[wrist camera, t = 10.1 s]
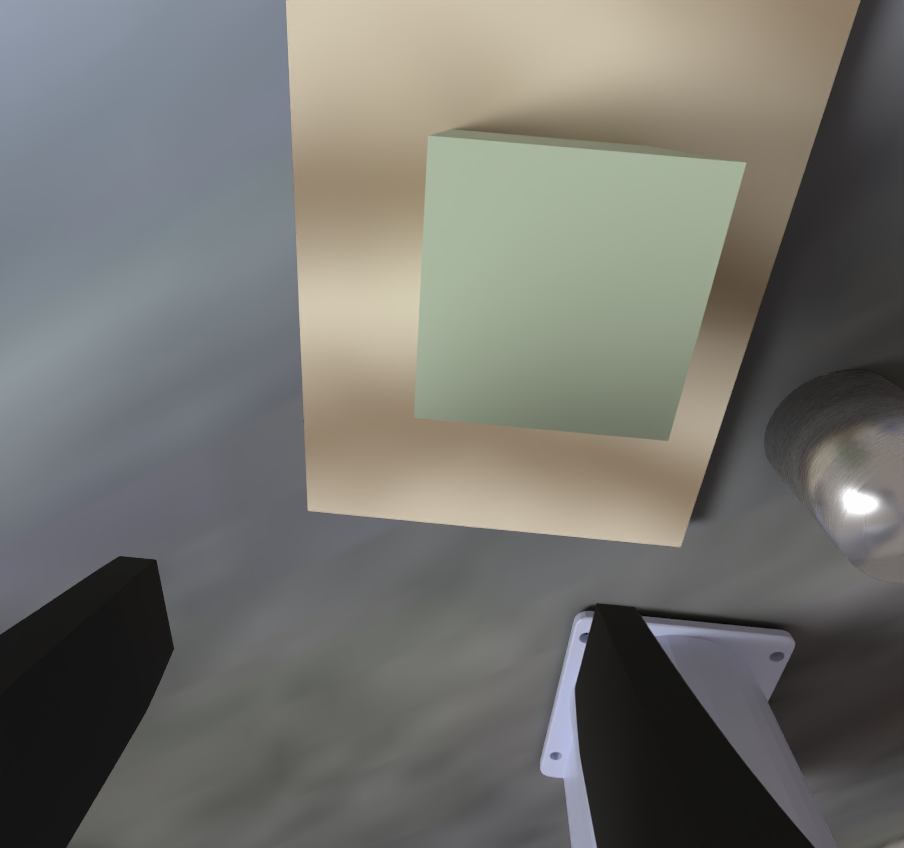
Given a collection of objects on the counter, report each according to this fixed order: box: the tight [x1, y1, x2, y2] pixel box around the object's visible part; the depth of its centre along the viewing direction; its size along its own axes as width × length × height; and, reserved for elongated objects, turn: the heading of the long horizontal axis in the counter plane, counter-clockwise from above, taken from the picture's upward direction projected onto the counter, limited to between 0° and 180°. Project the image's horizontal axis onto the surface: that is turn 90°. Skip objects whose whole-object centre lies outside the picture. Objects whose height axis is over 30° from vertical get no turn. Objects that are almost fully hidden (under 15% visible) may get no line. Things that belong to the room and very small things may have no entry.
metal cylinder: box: [765, 370, 904, 583], centre depth 16 cm, size 4×4×4 cm
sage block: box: [414, 129, 746, 441], centre depth 12 cm, size 4×4×6 cm
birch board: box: [286, 0, 861, 547], centre depth 15 cm, size 18×12×1 cm, turn 176°
